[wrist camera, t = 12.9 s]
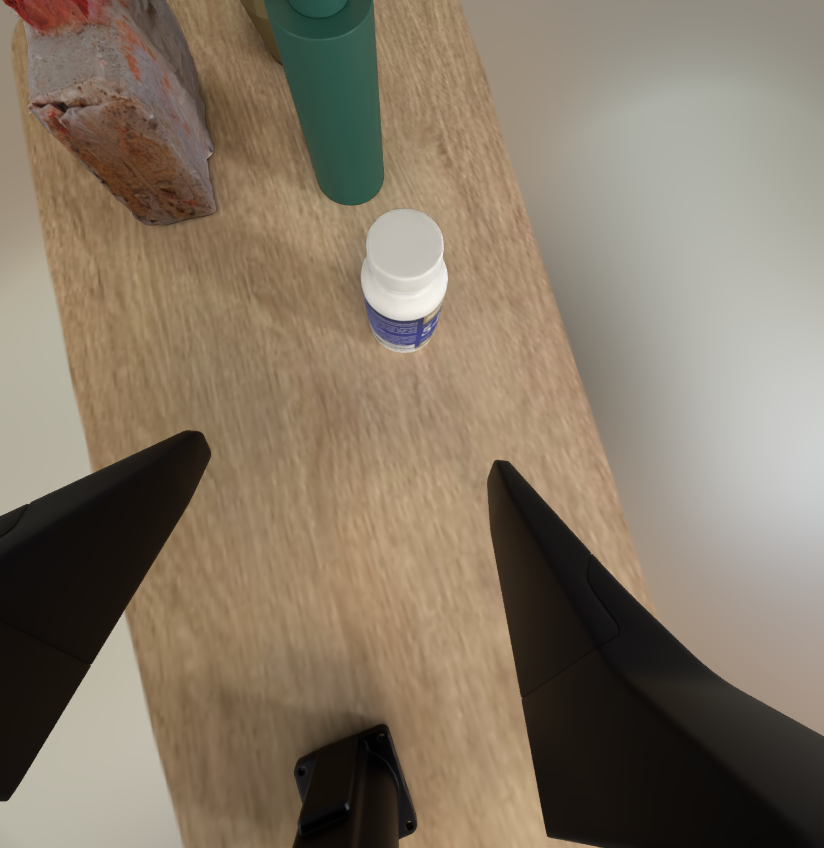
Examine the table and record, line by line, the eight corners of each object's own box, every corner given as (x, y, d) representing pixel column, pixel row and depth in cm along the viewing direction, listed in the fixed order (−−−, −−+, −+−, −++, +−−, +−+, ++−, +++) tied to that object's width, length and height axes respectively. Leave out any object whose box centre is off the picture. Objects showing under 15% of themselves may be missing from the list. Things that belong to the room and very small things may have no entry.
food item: (115, 88, 26) (-63, -142, 16) (210, 73, 26) (95, -160, 16) (139, 233, 24) (-41, 80, 14) (239, 214, 25) (132, 53, 15)
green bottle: (393, 194, 25) (382, -137, 11) (328, 213, 25) (234, -107, 11) (371, 138, 26) (335, -247, 12) (308, 155, 25) (192, -221, 11)
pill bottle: (431, 359, 24) (448, 301, 15) (365, 348, 24) (343, 283, 15) (441, 296, 24) (463, 205, 16) (376, 285, 24) (362, 188, 16)
